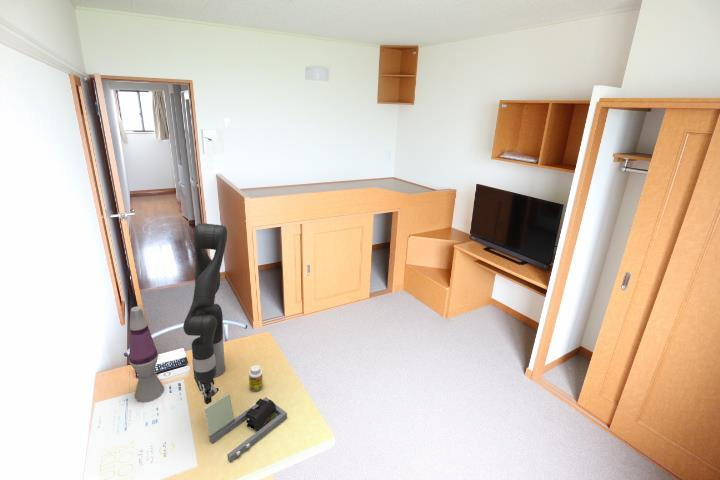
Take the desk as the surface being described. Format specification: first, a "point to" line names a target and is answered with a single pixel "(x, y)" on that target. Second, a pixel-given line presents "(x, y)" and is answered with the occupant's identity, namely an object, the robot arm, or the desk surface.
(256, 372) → the supplement bottle
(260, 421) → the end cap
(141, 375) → the lamp
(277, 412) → the grey frame
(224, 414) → the lid
